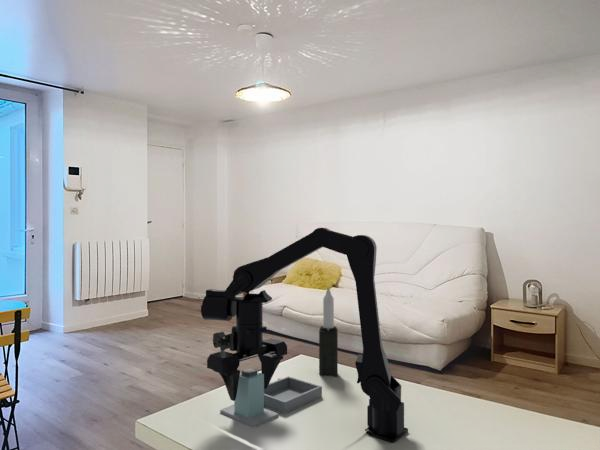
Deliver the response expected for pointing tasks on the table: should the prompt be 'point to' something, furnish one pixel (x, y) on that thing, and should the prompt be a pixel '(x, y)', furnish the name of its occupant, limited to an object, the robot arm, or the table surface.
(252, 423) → the lid panel
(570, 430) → the table surface
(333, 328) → the black grey pointed bar
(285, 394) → the case
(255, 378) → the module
